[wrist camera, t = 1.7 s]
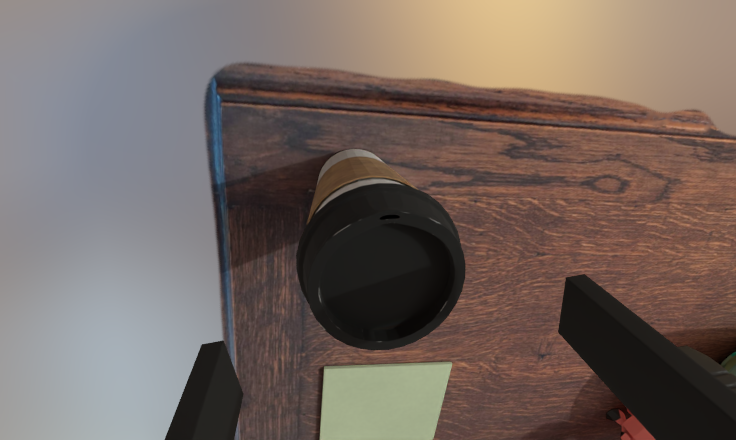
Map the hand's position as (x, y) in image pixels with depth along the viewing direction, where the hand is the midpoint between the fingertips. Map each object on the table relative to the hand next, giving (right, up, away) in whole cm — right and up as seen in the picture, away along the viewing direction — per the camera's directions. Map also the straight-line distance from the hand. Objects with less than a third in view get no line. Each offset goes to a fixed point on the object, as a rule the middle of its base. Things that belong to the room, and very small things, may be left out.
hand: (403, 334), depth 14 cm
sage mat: (0, -20, +29) cm, 35 cm away
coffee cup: (-3, +7, +16) cm, 18 cm away
